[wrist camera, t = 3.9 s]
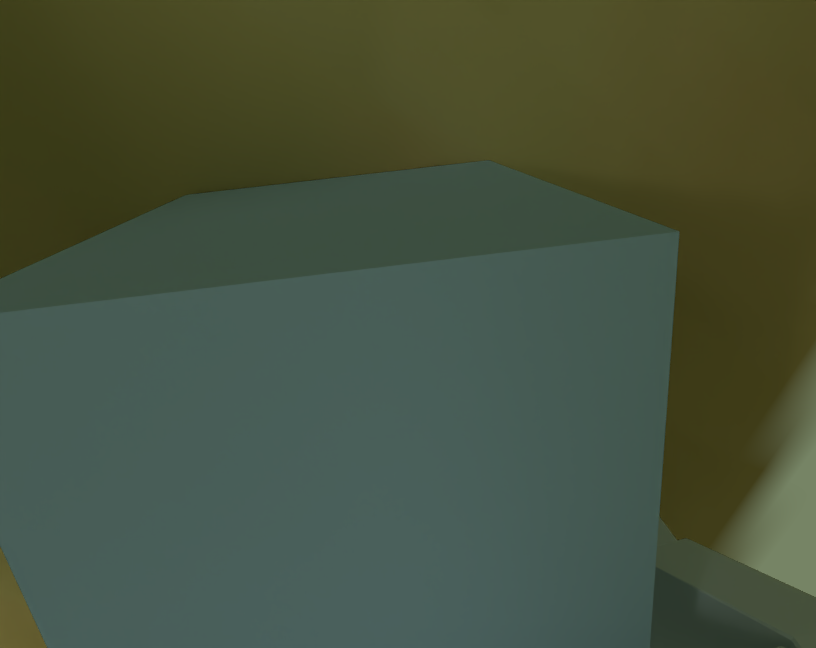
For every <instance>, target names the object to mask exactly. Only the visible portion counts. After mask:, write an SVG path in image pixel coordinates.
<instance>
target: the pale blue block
mask: <svg viewBox="0 0 816 648" xmlns="http://www.w3.org/2000/svg"><path fill="white" fill-rule="evenodd" d="M678 245H679V231H677V230H674V229H671V228H669V227H666V226H663V225H661V224H658V223H655V222H653V221H650V220H647V219H645V218H642V217H639V216H637V215H634V214H631V213H629V212H626V211H623V210H621V209H618V208H615V207H613V206H610V205H607V204H605V203H602V202H599V201H597V200H594V199H591V198H589V197H586V196H583V195H581V194H578V193H575V192H573V191H570V190H567V189H565V188H562V187H559V186H556V185H554V184H551V183H548V182H546V181H543V180H540V179H538V178H535V177H532V176H530V175H527V174H524V173H522V172H519V171H516V170H514V169H511V168H508V167H506V166H503V165H500V164H498V163H495V162H492V161H490V160H487V161H478V162H469V163H460V164H452V165H443V166H434V167H426V168H417V169H408V170H399V171H391V172H382V173H373V174H364V175H356V176H347V177H338V178H329V179H321V180H312V181H303V182H295V183H286V184H277V185H268V186H260V187H251V188H242V189H233V190H225V191H216V192H207V193H198V194H190V195H185V196H182V197H180V198H178V199H176V200H173V201H171V202H169V203H167V204H165V205H162V206H160V207H158V208H156V209H154V210H151V211H149V212H147V213H145V214H143V215H140V216H138V217H136V218H134V219H131V220H129V221H127V222H125V223H123V224H120V225H118V226H116V227H114V228H112V229H109V230H107V231H105V232H103V233H100V234H98V235H96V236H94V237H92V238H89V239H87V240H85V241H83V242H81V243H78V244H76V245H74V246H72V247H69V248H67V249H65V250H63V251H61V252H58V253H56V254H54V255H52V256H50V257H47V258H45V259H43V260H41V261H38V262H36V263H34V264H32V265H30V266H27V267H25V268H23V269H21V270H19V271H16V272H14V273H12V274H10V275H8V276H5V277H3V278H1V279H0V547H1V549H2V551H3V553H4V555H5V557H6V560H7V562H8V564H9V566H10V568H11V570H12V572H13V575H14V577H15V579H16V581H17V583H18V585H19V588H20V590H21V592H22V594H23V596H24V598H25V601H26V603H27V605H28V607H29V609H30V611H31V613H32V616H33V618H34V620H35V622H36V624H37V626H38V629H39V631H40V633H41V635H42V637H43V639H44V642H45V644H46V646H47V648H650V637H651V623H652V609H653V595H654V581H655V567H656V553H657V539H658V525H659V511H660V497H661V483H662V469H663V455H664V441H665V427H666V413H667V399H668V385H669V371H670V357H671V343H672V329H673V315H674V301H675V287H676V273H677V259H678Z"/></svg>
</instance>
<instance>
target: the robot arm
mask: <svg viewBox="0 0 816 648" xmlns="http://www.w3.org/2000/svg"><path fill="white" fill-rule="evenodd" d="M650 648H816V597H814V596H811V595H809V594H807V593H805V592H803V591H801V590H799V589H796V588H794V587H792V586H790V585H788V584H785V583H783V582H781V581H779V580H777V579H775V578H772V577H770V576H768V575H766V574H764V573H761V572H759V571H757V570H755V569H753V568H751V567H748V566H746V565H744V564H742V563H740V562H738V561H735V560H733V559H731V558H729V557H727V556H724V555H722V554H720V553H718V552H716V551H714V550H711V549H709V548H707V547H705V546H703V545H700V544H698V543H696V542H694V541H692V540H690V539H687V538H685V539H681V540H677V539H676V538H675V537H674V535H673V534H672V533H671V531H670V530H669V529H668V527H667V526H666V525H665V523H664V522H663V521H662V519H661V518H660V517H659V525H658V539H657V553H656V567H655V581H654V595H653V609H652V623H651V637H650Z"/></svg>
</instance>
